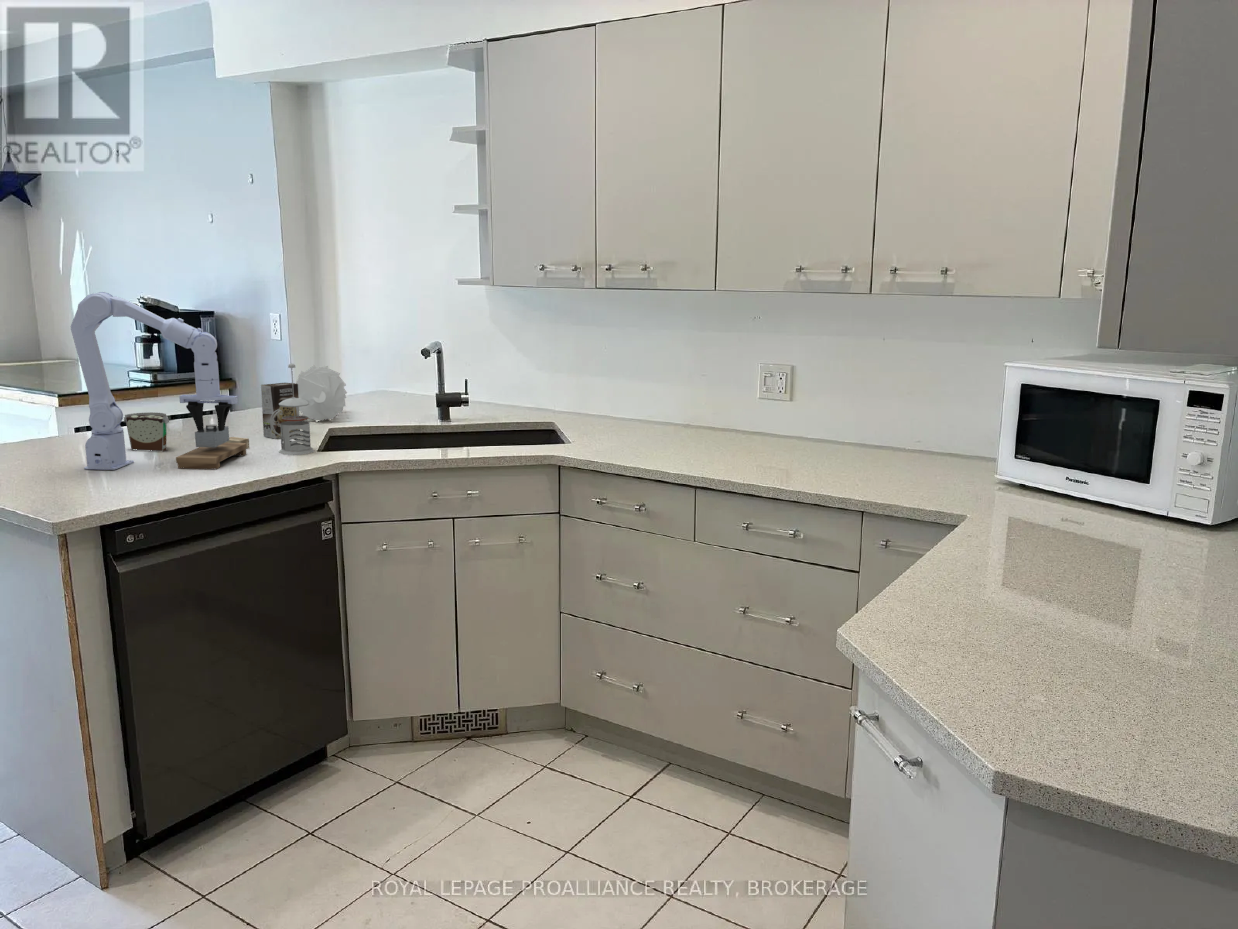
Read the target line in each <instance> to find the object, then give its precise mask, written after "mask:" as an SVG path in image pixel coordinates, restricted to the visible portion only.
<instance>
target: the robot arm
mask: <svg viewBox="0 0 1238 929" xmlns="http://www.w3.org/2000/svg"><path fill="white" fill-rule="evenodd" d="M73 316H74V317H73V320H72V321H71V324H70V331H71V335H72V339H73V342H74V346H75V349H76V353H77V357H78V361H79V364H80V367H81V371H82V375H83V378H84V383H85V386H86V390H87V393H88V398H89V399H88V400H89V401H88V408H89V417H88V422H89V426H90V428H91V431H90V432H91V434H90V437H89V438H88V439H87V440H86V441H85V446H84V448H85V458H86V465H87V466H84V467H83V469H84V470H101V471H102V470H103V471H104V470H105V471H106V470H109V471H110V470H111V471H114V470H117V469H120V468H123V467H125V466H127V465H130V464H133V463H134V462H135V460H131V459H129V460H128V459H127V452H126V445H125V441H126V440H125V432H124V428H123V427H122V426H121V423H122V422H123V420H124V414H123V410H122V409H121V408H120V406H119V405H118V404H117V402H116V399H115V397H114V395H113V393H112V392H111V387H110V385H109V381H108V376H107V374H106V370H105V365H104V362H103V358H102V354H101V350H100V347H99V344H98V339H97V336H96V331H97V330H98V328H99V327H100V325H102V323H103V322H104V321H106V320H107V319H108V318H110V317H113V318H116V317H117V318H118V317H119V318H123V317H127V318H130V319H133V320H135V321H136V322H139V323H142V324H143V325H147V326H149V327H150V328H153V329H155V330H158V331H160V333H161V336H162V338H163V339H165V340H168V341H170V342H171V343H174V344H177V345H179V346H181V347H182V348H184V349H191V351H192V352H193V355H194V356H193V358H194V362H193V368H194V380H195V394H181V395H179V396H178V398H179V403H180V404H186V406H185V407H186V410H188V412H189V413H190V415H191V417H192V420H193V421H194V423H195V426H196V429H197V431H199V430H201V429H203V428H205V426H204V404H215V405H214V409H215V413H216V419H217V426H218V430H219V431H223V430H224V429H225V426H226V422H227V419H228V416H229V413H230V410H231V409H232V406H233V405H237V404H239V402H238V401H239V400H238V397H239V396H238V395H226V394H221V388H220V375H219V373H220V372H219V361H218V355H217V352H216V351H217V348H218V341H217V339H216V337H215V336H213V334H211V333H209V331H208V332H207V331H203V328H200V327H197V328H196V327H194V326H192V325H189V324H188V323H185V322H184V321H185V320H184V319H182V317H181V318H180V317H179V318H175V317H171V318H167V319H165V318H163V317H161V316H159V315H157V314H156V313H153V312H151V311H149V310H147V309H145V308H143V307H142V306H139V305H137V304H135V303H134V302H132V301H130V300H127V299H125V298H123V297H120V296H117V295H115V296H114V295H113V294H111V293H109V292H106V291H99V292H95V293H94V292H93V293H90V294H88V295H86V296H85V297H84V298H83V299H81V301H80V302H78V304H77V309H76V311H75V315H73Z"/></svg>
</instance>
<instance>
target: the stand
mask: <svg viewBox="0 0 1238 929" xmlns="http://www.w3.org/2000/svg"><path fill="white" fill-rule="evenodd" d="M242 455H244V456H245V455H247V444H246V443H223V444H221V445H219V446H217V447H215V448H212V447H196V448H195V449H191V450H190V451H187V452H185V453H183V454H181V455H178V456H176V457H175V462H176V464H177V469H187V470H188V469H189V470H191V469H195V470H196V469H199V470H217V469H220V468H221V462H222V461H224V460H226V459H228V458H231V457H232V456H242ZM219 467H220V468H219Z"/></svg>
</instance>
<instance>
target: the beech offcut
mask: <svg viewBox="0 0 1238 929" xmlns="http://www.w3.org/2000/svg"><path fill="white" fill-rule="evenodd" d="M225 443H246V444H247V449H250V438H248V437H247V438H245V437H238V436H237V437H236V436H229V441H227V442H225ZM247 449H246V450H247Z"/></svg>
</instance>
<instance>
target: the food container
mask: <svg viewBox="0 0 1238 929" xmlns="http://www.w3.org/2000/svg"><path fill="white" fill-rule="evenodd" d="M123 423H125V424H126V428H127V429H126V430H127V433H128V434H127V435H128V438H129V444H130V449H137V450H150V451H149V452H160V451H162V452H166V450H167V434H168V432H167V430H168V428H167V425H168V424H169V423H170V419H169V417H168V415H167V413H163V412H150V411H149V412H136V413H127V414H124V416H123ZM137 450H136V451H137ZM151 450H152V451H151Z"/></svg>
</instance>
